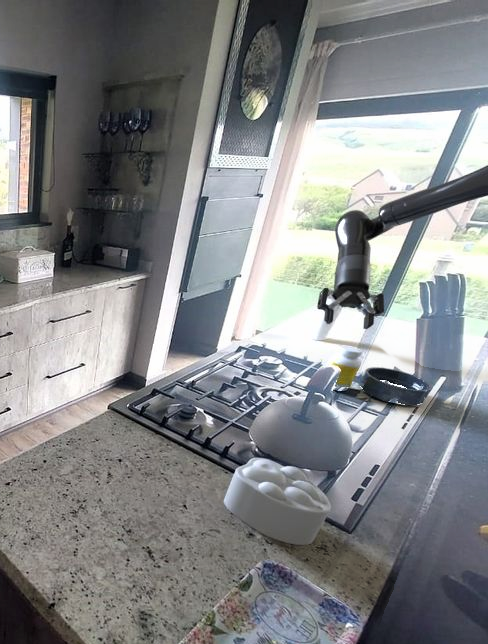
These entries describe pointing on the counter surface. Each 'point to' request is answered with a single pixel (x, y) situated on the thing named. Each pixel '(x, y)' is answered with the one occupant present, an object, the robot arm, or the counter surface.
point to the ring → (410, 396)
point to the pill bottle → (346, 364)
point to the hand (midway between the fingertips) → (348, 325)
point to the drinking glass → (323, 322)
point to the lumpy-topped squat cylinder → (277, 501)
